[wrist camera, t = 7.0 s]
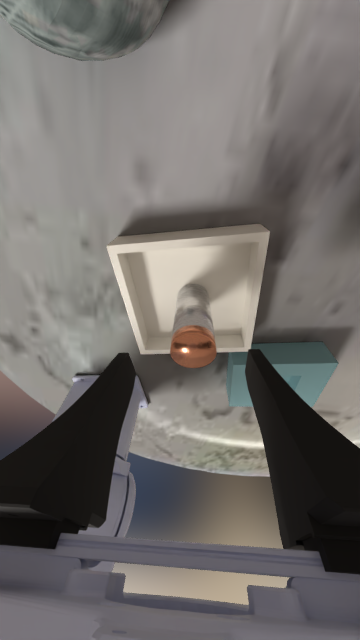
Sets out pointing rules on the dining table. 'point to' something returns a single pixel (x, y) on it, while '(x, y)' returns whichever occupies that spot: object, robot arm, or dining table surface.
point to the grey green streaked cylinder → (85, 25)
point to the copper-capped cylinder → (193, 328)
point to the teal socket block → (284, 369)
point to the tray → (191, 281)
